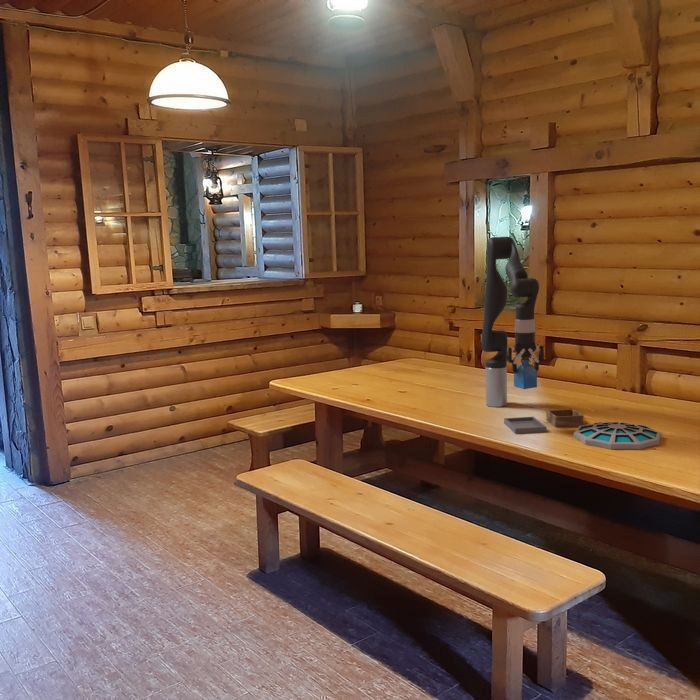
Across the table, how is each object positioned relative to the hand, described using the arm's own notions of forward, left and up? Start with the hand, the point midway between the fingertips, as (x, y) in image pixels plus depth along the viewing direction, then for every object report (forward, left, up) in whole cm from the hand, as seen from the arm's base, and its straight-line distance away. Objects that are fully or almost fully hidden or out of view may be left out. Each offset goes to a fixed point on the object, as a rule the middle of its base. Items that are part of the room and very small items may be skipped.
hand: (525, 372), depth 281 cm
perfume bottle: (0, 0, -6) cm, 6 cm away
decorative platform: (+21, +28, -23) cm, 41 cm away
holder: (-3, +17, -22) cm, 28 cm away
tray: (0, 0, -22) cm, 22 cm away
